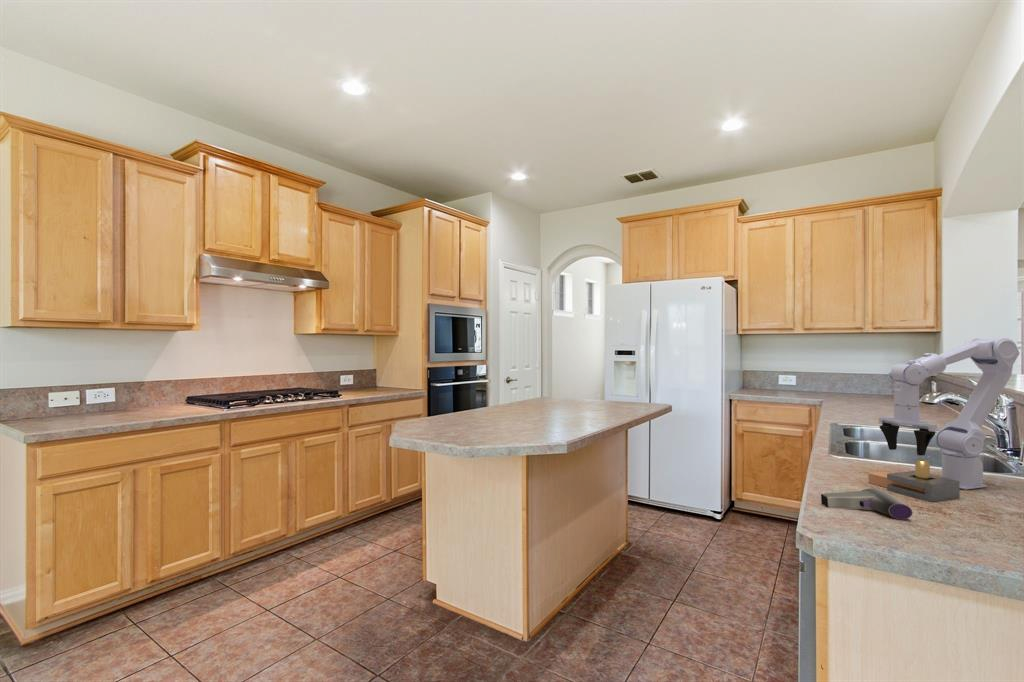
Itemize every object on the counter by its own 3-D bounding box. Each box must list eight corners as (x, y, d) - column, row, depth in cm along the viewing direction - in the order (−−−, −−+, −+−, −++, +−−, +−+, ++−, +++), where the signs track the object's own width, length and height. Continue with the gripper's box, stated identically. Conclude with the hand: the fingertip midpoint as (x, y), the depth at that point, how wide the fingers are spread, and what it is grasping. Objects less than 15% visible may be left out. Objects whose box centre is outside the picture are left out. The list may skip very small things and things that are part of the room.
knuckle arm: (885, 481, 145) (885, 471, 145) (946, 496, 131) (946, 485, 131) (868, 483, 143) (868, 473, 143) (928, 499, 128) (928, 488, 128)
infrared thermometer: (819, 506, 126) (881, 505, 124) (846, 523, 113) (916, 522, 112) (818, 488, 126) (880, 487, 124) (845, 504, 114) (914, 502, 112)
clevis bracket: (913, 486, 140) (914, 470, 140) (959, 498, 129) (959, 481, 129) (886, 489, 136) (886, 473, 136) (931, 502, 126) (931, 484, 126)
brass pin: (920, 491, 135) (920, 459, 135) (932, 495, 132) (932, 461, 132) (912, 492, 134) (912, 459, 134) (924, 496, 131) (924, 462, 131)
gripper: (871, 403, 147) (871, 447, 147) (925, 409, 134) (925, 458, 134) (887, 402, 150) (887, 446, 150) (942, 408, 136) (942, 457, 136)
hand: (906, 452), depth 142 cm, fingers open, 7 cm apart
